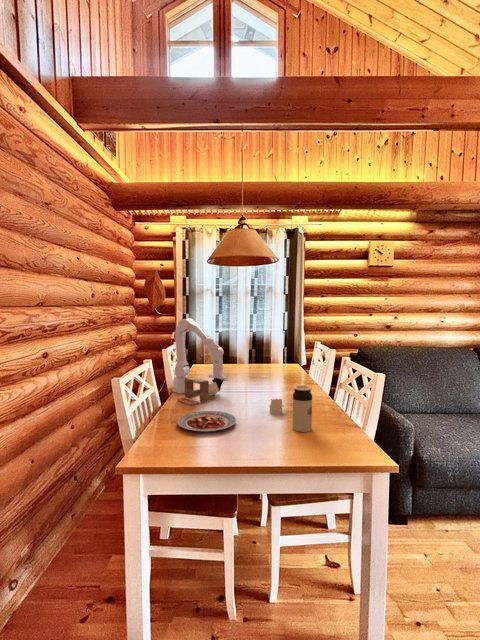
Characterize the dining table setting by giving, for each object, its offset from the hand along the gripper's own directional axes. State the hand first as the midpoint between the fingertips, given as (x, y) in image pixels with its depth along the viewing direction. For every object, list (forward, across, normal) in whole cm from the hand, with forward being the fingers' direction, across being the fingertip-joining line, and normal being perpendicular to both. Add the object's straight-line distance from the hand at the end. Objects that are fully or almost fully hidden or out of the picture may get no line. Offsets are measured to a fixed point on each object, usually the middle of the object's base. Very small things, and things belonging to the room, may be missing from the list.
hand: (217, 391), depth 207 cm
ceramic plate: (+2, -35, +37) cm, 51 cm away
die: (+2, 0, +6) cm, 6 cm away
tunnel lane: (+2, 0, +13) cm, 13 cm away
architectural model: (+2, -46, +3) cm, 46 cm away
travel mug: (+2, -68, +12) cm, 69 cm away
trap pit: (+2, -2, +23) cm, 23 cm away
